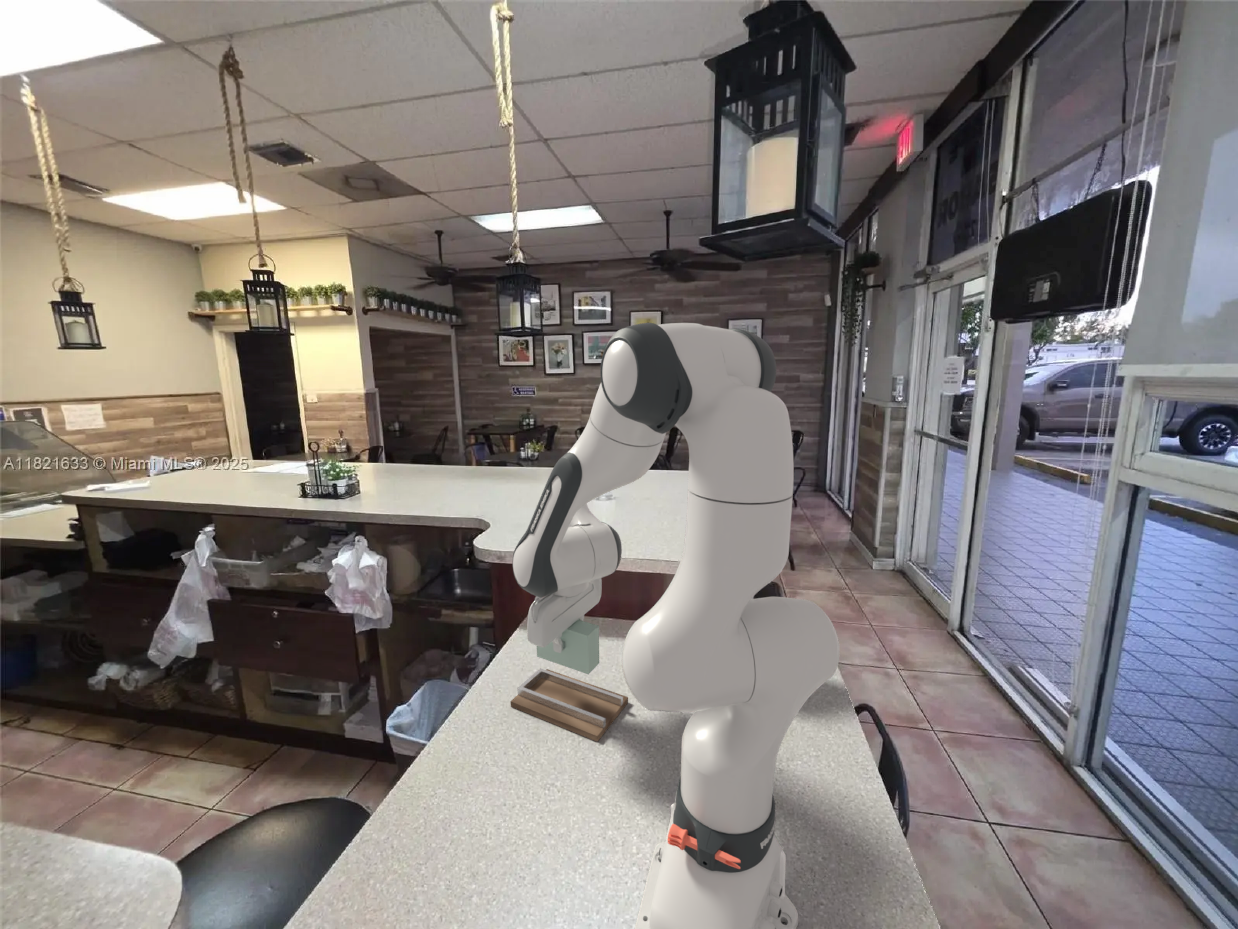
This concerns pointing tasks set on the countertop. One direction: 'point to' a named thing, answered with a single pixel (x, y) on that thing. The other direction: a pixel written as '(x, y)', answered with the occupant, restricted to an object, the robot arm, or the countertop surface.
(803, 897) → the countertop surface
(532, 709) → the track board
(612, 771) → the countertop surface
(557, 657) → the mint green rectangular block
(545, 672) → the track rails
